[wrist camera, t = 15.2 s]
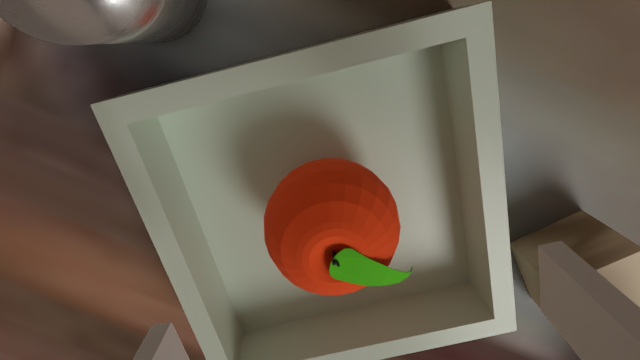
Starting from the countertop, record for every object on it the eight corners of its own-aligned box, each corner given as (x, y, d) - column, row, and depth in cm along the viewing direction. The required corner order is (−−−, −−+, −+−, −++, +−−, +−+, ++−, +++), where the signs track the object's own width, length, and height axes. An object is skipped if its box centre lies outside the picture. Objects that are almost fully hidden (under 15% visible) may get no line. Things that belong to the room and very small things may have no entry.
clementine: (422, 177, 23) (470, 236, 16) (369, 269, 25) (392, 355, 18) (297, 122, 21) (292, 162, 15) (252, 225, 23) (231, 301, 17)
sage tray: (453, 8, 20) (491, 0, 16) (483, 284, 27) (516, 330, 22) (132, 91, 21) (90, 104, 17) (234, 338, 28) (221, 393, 23)
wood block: (581, 209, 25) (644, 249, 20) (599, 266, 27) (661, 316, 22) (508, 242, 26) (553, 288, 21) (530, 296, 27) (576, 350, 23)
